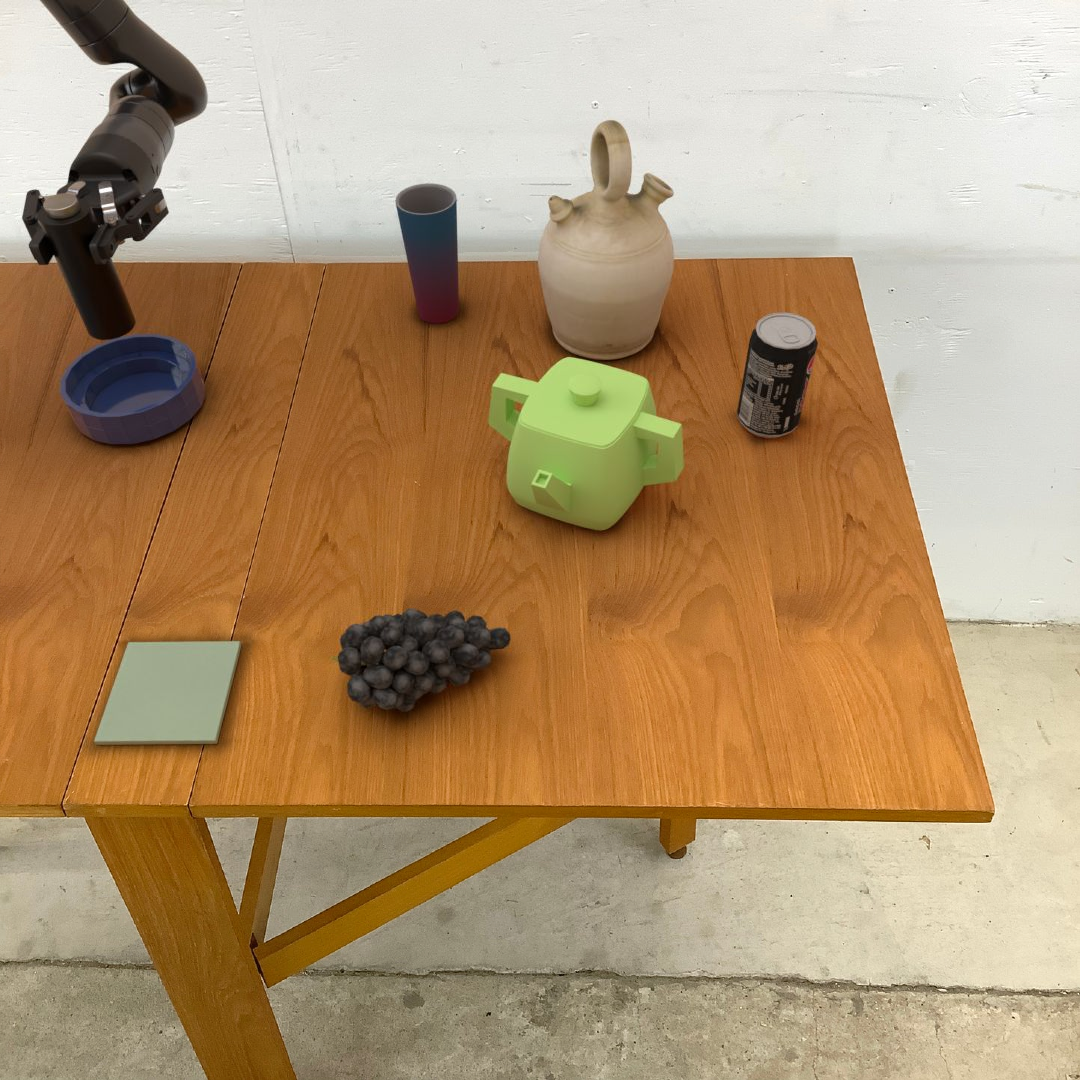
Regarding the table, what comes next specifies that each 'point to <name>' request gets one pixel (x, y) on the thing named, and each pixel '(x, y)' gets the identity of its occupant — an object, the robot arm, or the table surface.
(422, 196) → the cup
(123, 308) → the bottle
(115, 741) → the mat
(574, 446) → the teapot
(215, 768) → the table surface
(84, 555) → the table surface
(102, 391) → the bowl
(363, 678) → the fruit
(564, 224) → the jug
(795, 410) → the beverage can
